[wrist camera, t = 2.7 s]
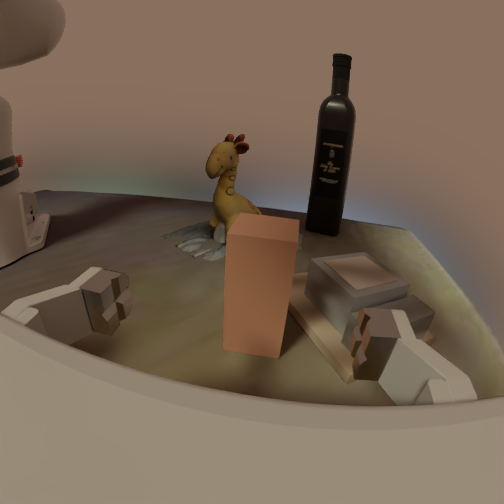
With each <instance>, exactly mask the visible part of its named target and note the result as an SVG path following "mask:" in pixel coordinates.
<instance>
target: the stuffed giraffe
mask: <svg viewBox="0 0 504 504" xmlns="http://www.w3.org/2000/svg"><path fill="white" fill-rule="evenodd" d="M244 138H245V135H244V134H241V135H239V136H238V137H237V138H236V139H235V140H234V141H233V139H234V136H233V135H232V134H228V135H227V136H226V138H225V140H224V141H223V142H221V143H219V144H217V146H215V147H214V149H213V150H212V152H211V154H210V156H209V158H208V160H207V163H206V172H207V175H208V176H209V178H211V179H214V178H216V177H219V176H220V178H219V181H218V185H217V188H216V190H215V193H214V197H213V207H214V213H213V215H212V217H211V218H210V220H209V221H205V222H202V223H198V224H195V225H193V226H188V227H185V228H183V229H179V230H177V231H175V232H172V233H169V234H167V235H164V236H161V237H164V238H168V237H167V236H181V235H182V238H186V237H188V239H189V240H186V241H184V242H181V243H180V244H179V245H176V246H178V247H179V248H180V249H181V250H183V251H185V252H188V251H189V252H191V251H192V250H197V249H198V248H200V247H199V246H200V245H201V244H204V243H202V242H204V241H207V240H209V239H211V238H212V239H213V240H214V241H216V242H218V243H220V244H222V246H221V247H220V248H219V249H217V250H214V251H213V252H212V253H206V254H209V255H206V254H204V255H206V257H203V258H207V259H206V260H219V259H217V258H223V257H222V256H224V255H225V254H226V245H225V244H226V237H227V232H228V231H229V229H230V228H231V226H232V225H233V223H234V222H235V220H236V219H237V217H238V216H239V215H240V213H249V214H257V215H262V214H261V212H260V210H259V209H258V208H257V207H256V206H255V205H253V204H252V203H251V202H250V201H249V200H248V199H246V198H245V197H243V196H241V195H239V194H238V193H236V192H235V191H234V183H235V179H236V175H237V166H238V163H239V154H243V153H245V152H247V150H248V149H249V145H248V144H247V143H245V142H243V141H244ZM301 235H302V234H301V233H299V236H298V247H297V251H299V250H301V249H303V248H301V247H300V244H302V241H301V240H302V239H303V238H302V236H303V237H304V235H302V236H301ZM211 249H212V248H210V249H206V250H198V251H197V252H196V253H192V254H193V255H192V254H191V256H194V257H196V256H198V255H200V254H203V253H205V252H206V251H209V250H211ZM207 262H208V261H207ZM209 266H210V265H209Z"/></svg>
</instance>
